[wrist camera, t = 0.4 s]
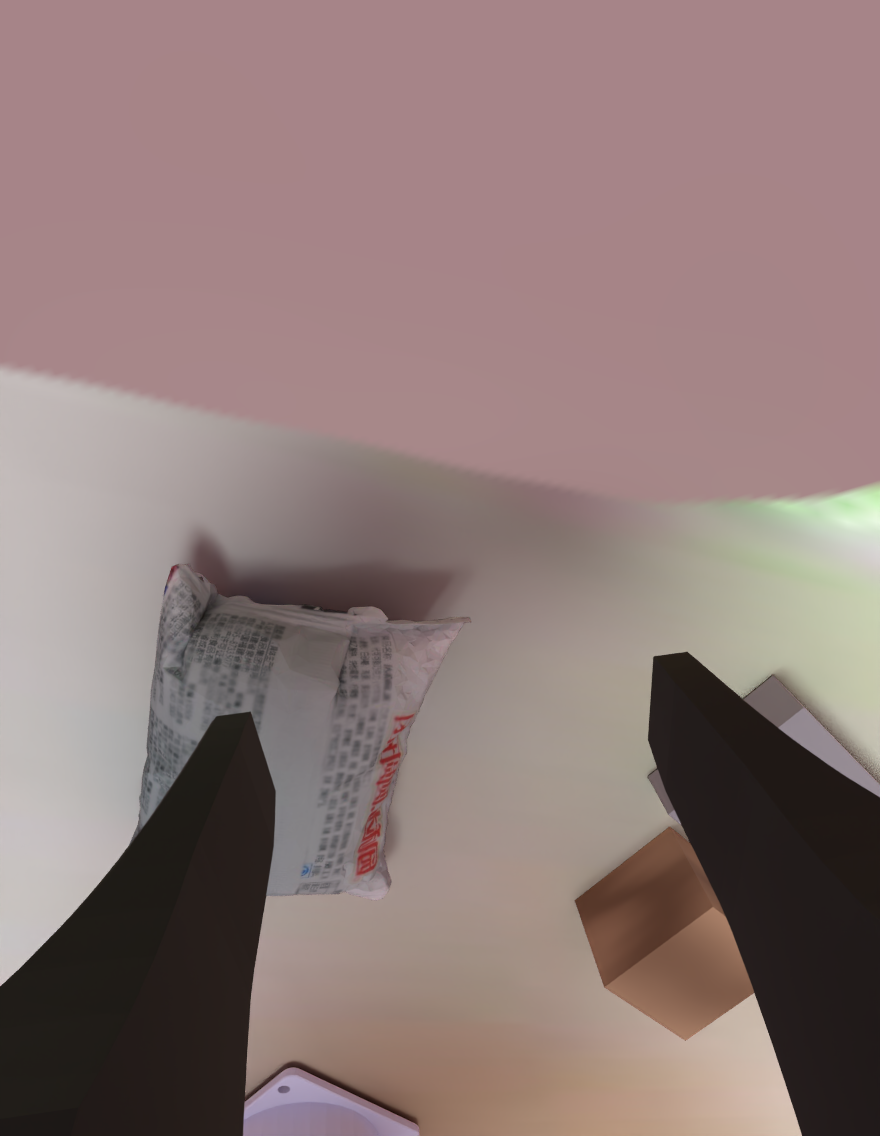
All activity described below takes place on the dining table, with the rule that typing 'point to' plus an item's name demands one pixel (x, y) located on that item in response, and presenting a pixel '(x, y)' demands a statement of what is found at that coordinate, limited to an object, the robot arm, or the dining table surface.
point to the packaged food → (296, 718)
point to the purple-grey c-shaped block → (793, 737)
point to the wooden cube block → (665, 938)
